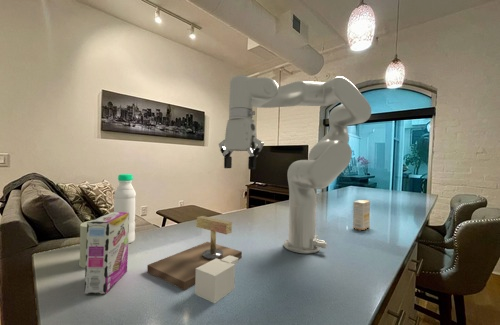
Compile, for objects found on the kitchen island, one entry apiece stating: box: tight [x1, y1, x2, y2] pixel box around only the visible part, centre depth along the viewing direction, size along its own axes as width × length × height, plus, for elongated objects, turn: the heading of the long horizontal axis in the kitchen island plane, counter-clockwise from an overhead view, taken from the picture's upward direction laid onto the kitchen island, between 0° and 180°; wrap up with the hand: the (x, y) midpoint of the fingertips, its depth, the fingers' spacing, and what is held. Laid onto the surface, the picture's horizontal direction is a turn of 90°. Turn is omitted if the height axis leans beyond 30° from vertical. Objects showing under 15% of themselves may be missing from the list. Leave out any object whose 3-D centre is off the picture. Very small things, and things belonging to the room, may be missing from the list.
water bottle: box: [113, 173, 137, 245], centre depth 85 cm, size 7×7×25 cm
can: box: [78, 219, 93, 269], centre depth 69 cm, size 9×9×12 cm
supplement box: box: [352, 199, 371, 231], centre depth 110 cm, size 8×5×13 cm, turn 133°
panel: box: [146, 241, 243, 291], centre depth 68 cm, size 15×23×2 cm, turn 146°
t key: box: [196, 215, 233, 260], centre depth 70 cm, size 12×6×11 cm, turn 56°
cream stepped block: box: [194, 255, 239, 304], centre depth 56 cm, size 6×10×6 cm, turn 147°
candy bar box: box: [84, 211, 129, 295], centre depth 57 cm, size 11×5×16 cm, turn 5°
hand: (239, 168), depth 75 cm, fingers open, 9 cm apart
